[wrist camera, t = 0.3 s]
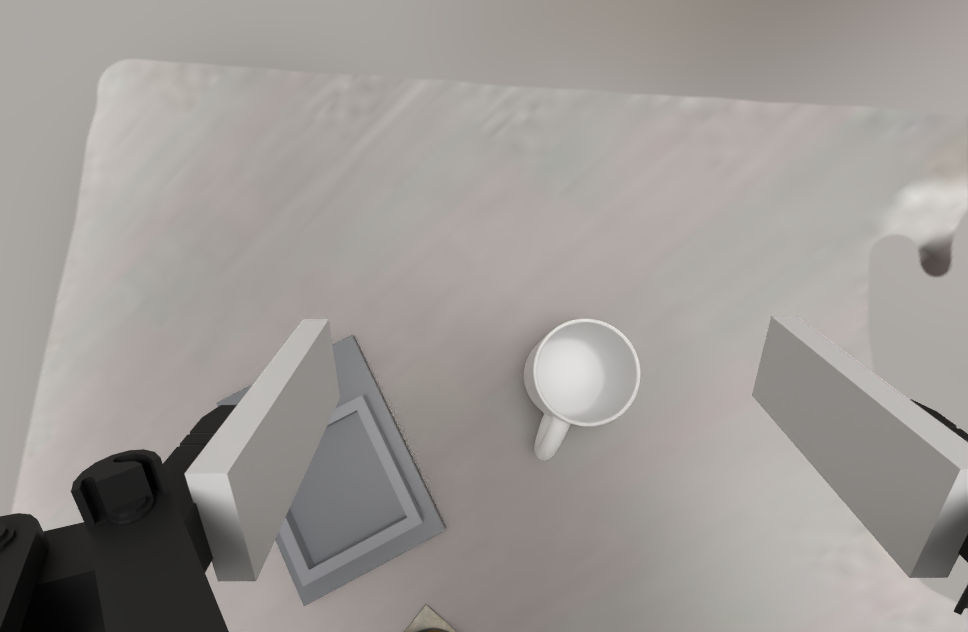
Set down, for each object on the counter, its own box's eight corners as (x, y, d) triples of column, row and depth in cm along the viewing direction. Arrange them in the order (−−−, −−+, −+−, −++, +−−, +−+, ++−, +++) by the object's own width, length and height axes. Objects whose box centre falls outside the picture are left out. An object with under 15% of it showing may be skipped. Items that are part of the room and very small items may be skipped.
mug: (572, 471, 48) (596, 492, 38) (492, 433, 49) (495, 443, 39) (621, 355, 50) (657, 345, 40) (543, 320, 50) (559, 301, 40)
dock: (445, 527, 47) (444, 534, 45) (306, 602, 46) (298, 613, 44) (353, 336, 50) (347, 333, 48) (220, 402, 49) (208, 403, 47)
